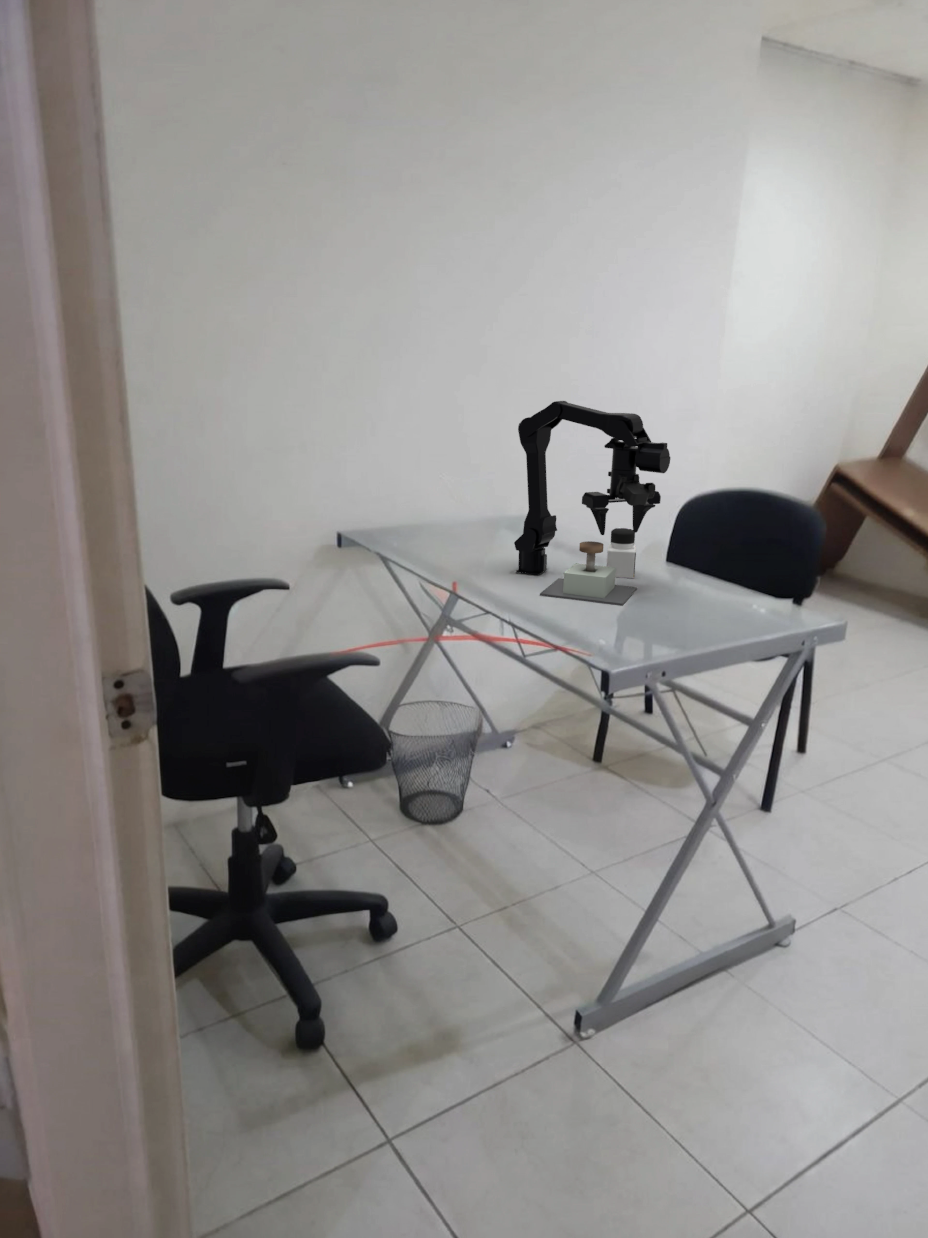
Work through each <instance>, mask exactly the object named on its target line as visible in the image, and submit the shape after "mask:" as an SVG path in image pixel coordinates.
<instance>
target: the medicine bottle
mask: <svg viewBox="0 0 928 1238" xmlns="http://www.w3.org/2000/svg"><path fill="white" fill-rule="evenodd" d="M635 538H636V533H635V532H633V528H632V529H631V528H628V527H615V528H614V529H612V530H611V531H610V543H609V544H608V546H607V550H606V551H607V552H606V553H607V555H606V567H615V568H616V572H615V578H621V579H634V578H635V571H636V557H637V545H635V542H636V541H635V540H636V539H635Z"/></svg>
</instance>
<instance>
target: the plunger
mask: <svg viewBox="0 0 928 1238" xmlns="http://www.w3.org/2000/svg"><path fill="white" fill-rule="evenodd" d="M604 546H605V545H604V543H602V542H599V541H591V540H590V541H581V542H580V543H579V550H578V551H579V552H581V553H583V554H586V571H588V572H593V571H594V569H595V564H596V554H600V553H603V552H604Z"/></svg>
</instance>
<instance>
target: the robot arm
mask: <svg viewBox="0 0 928 1238" xmlns="http://www.w3.org/2000/svg"><path fill="white" fill-rule="evenodd" d="M563 420H564V421H568V422H571V423H575V424H579V425H582V426H587V427H590V428H594V429H598V430H600V431H601V432H603V433H604V434H606V435H607V436H609V437H610V438H611V439H610V440H609V441H608V442H607V443H606V444H604V446H603V447H604V448H605V449H612V457H611V471H608V474H607V476H608V477H610V486H609V488H606V494H605V493H603V492H599V491H589V492H587V491H586V492H584V494H583V495H582V497H581V505H584V506H586V508H588V509H590V511H591V513H592V516H593V517H594V520H595V522H596V525H597V527H598V531H599V533H600V535H601V536H605V533H606V521H607V519H606V518H607V513H608V511H609V510H610V509H609V508H608V507H607V506H608V505H609V504H610V503H611V504H612V503H624V502H625V503H627V504H628V505H629V506H632V530H633V532H635V534H636V533H637V532H638V531H639V530H640V527H641V524H642V522H643V520H644V518H645V516H646V515H647V513H648V512H649V511H650V510H651V509H653V508H655V507H656V505H658V504H661V498H662V496H661V493H660V492H659V491H657V490H656V484H655V483H654V482H645V483H640V476H639V475H640V474H638V473H637V469H638V470H639V471H641V472H649V473H656V474H665V473H667V471H668V469H669V468H670V464H671V455H670V450H669V449H668V443H667V442H652V440H651V438H650V437H649V434H648V433H647V431H646V429H645V428H644V424H643V423H644V421H643V420H642V418H641V417H640V415H639V414H637V413H632V412H631V413H627V412H606V411H602V410H598V409H595V408H594V409H593V408H591V407H586V406H582V405H578V404H574V403H571V402H568V401H566V400H557V401H552V403H550V404H549V405H547V406H546V407H545V408H543V409H542V410H539V411H538V412H536V413H534V414H532V416H529V417H525V418H523V419H522V420H521V421H520V422H519V423H518V428H517V432H518V437H519V442H520V444H521V447H522V449H523V450H524V452H525V458H526V473H527V474H526V480H527V499H528V500H527V501H528V502H527V503H528V512H527V514H526V516H525V519H524V521H523V522H524V523H523V528H522V529H523V531H522V534H521V535H520V536H519V537H518V538H517V539H516V540H515V541H514V543H513V544H514V548H515V550H516V551H518V566H517V568H518V569H517V570H516V571H515V573H519V574H525V575H526V574H527V575H534V576H540V575H542V574H543V573H544V572H545V571H547V569H548V568H547V563H548V562H547V560H548V554H547V553H546V548H547V547H549V545H550V542H551V541H553V539H554V538H555V536H556V532H557V531H558V528H557V515H556V514H555V515H552V514H551V513H550V511H549V507H548V488H547V487H548V485H547V484H548V483H547V462H546V461H547V460H546V458H547V456H546V452H547V449H548V446H549V444H550V443H551V442H550V441H551V435H552V430H553V429H554V428H555V427H557V426H558V425H559V424H560V423H561V422H562V421H563Z"/></svg>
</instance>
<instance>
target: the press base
mask: <svg viewBox="0 0 928 1238" xmlns="http://www.w3.org/2000/svg"><path fill="white" fill-rule="evenodd" d="M615 572H616V568H615V567H607V565H606V566H603V565H595V569H594V571H593V572H588V571H586V564H585V563H573V565H572V566H570V567H569V568H568V569H567V570H565V572H563V578H562V577H561V578H560V577H558V578H557V579H556V580H554V582H552V583H551V584H549V585H548V586H547V587H546V588H545V589H544V590H542V591H541V592H540V593H539V596H541V597H549V598H555V599H556V598H558V599H563V600H564V599H565V600H574V601H581V602H582V601H583V602H589V603H590V602H591V603H597V604H598V603H599V604H606V605H616V606H624V605H625V604H626V603H627V601H628V600H629V599H630V598H631V597H632V596H633V594H634V593H635V592H636V591H637V590H638V586H631V585H623V584H622V585H621V584H616V577H615Z"/></svg>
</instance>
